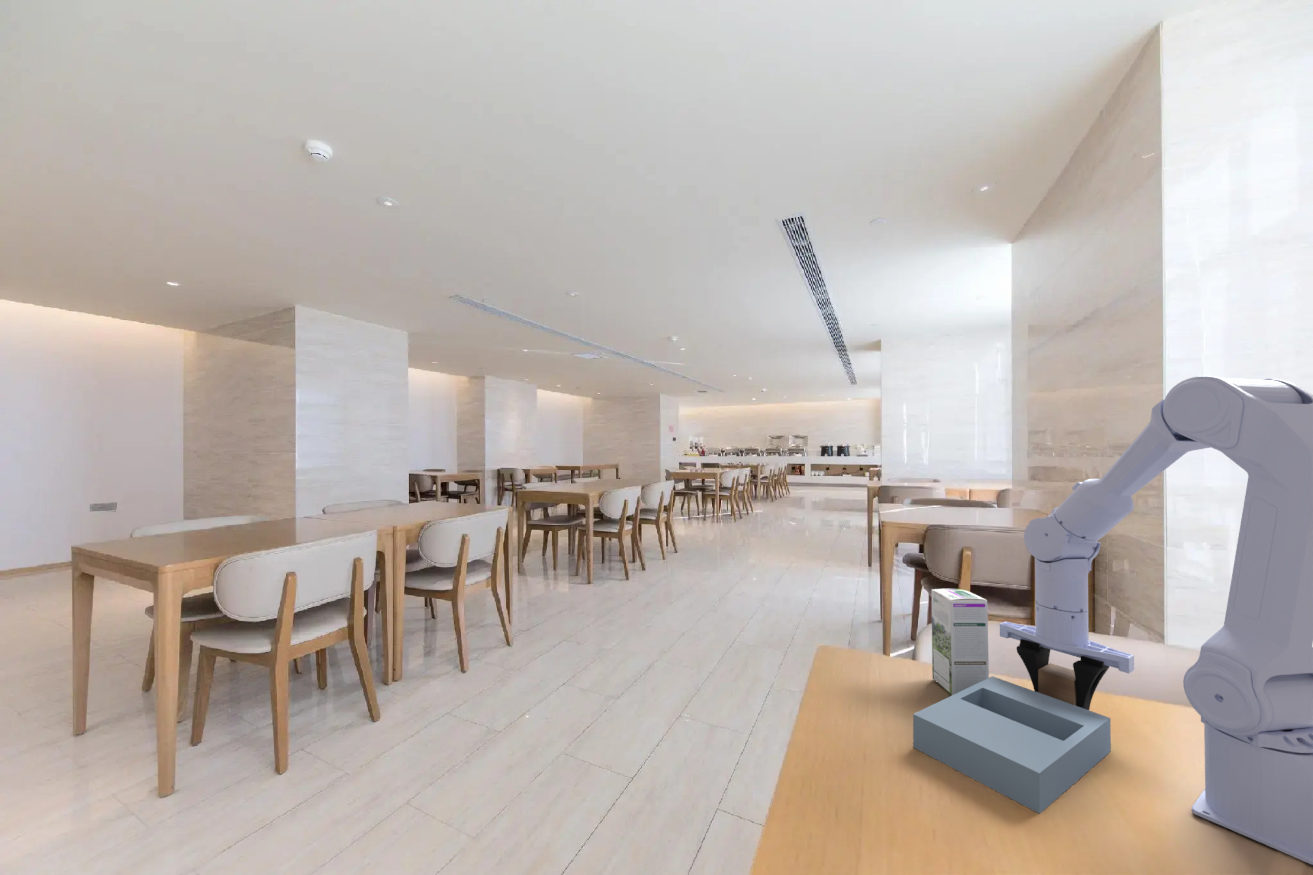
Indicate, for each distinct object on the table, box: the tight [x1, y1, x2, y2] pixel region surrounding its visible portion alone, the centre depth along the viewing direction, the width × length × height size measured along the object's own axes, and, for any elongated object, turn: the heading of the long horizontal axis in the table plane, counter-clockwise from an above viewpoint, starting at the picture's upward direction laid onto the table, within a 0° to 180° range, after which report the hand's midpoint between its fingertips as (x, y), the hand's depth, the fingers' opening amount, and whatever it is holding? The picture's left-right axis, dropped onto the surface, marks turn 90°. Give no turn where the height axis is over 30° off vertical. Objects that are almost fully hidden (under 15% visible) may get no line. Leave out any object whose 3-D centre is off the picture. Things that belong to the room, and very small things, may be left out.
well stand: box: [912, 676, 1112, 814], centre depth 60 cm, size 13×20×4 cm, turn 122°
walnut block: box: [1038, 662, 1077, 706], centre depth 69 cm, size 4×4×6 cm
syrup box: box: [930, 588, 990, 696], centre depth 76 cm, size 6×6×14 cm
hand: (1061, 705), depth 68 cm, fingers closed on walnut block, 4 cm apart
